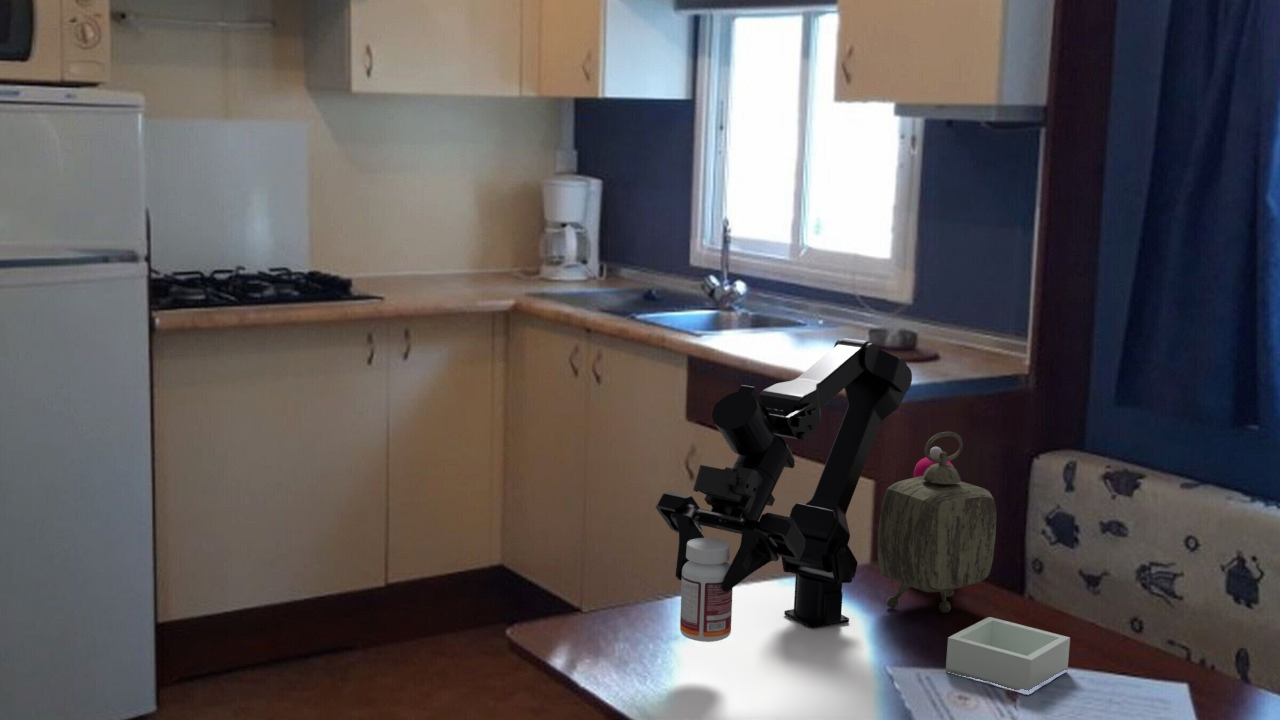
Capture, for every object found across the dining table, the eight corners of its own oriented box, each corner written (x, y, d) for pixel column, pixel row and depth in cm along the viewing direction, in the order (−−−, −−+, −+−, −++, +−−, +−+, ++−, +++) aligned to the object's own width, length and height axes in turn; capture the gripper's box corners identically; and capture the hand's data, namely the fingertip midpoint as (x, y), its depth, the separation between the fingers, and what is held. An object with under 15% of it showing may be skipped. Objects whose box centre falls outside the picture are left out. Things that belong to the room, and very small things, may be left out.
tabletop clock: (948, 592, 225) (961, 421, 221) (995, 610, 218) (1009, 434, 213) (873, 606, 217) (884, 430, 213) (918, 626, 210) (931, 444, 205)
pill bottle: (735, 629, 190) (739, 539, 188) (724, 646, 184) (728, 553, 182) (686, 623, 192) (689, 533, 190) (673, 639, 186) (677, 547, 184)
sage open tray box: (945, 672, 193) (948, 637, 192) (986, 650, 201) (989, 616, 201) (1028, 696, 186) (1031, 660, 185) (1067, 672, 195) (1070, 637, 194)
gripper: (666, 427, 193) (610, 533, 186) (798, 452, 182) (743, 565, 175) (700, 477, 200) (647, 581, 193) (828, 504, 189) (776, 614, 183)
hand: (700, 584), depth 186 cm, fingers closed on pill bottle, 6 cm apart
